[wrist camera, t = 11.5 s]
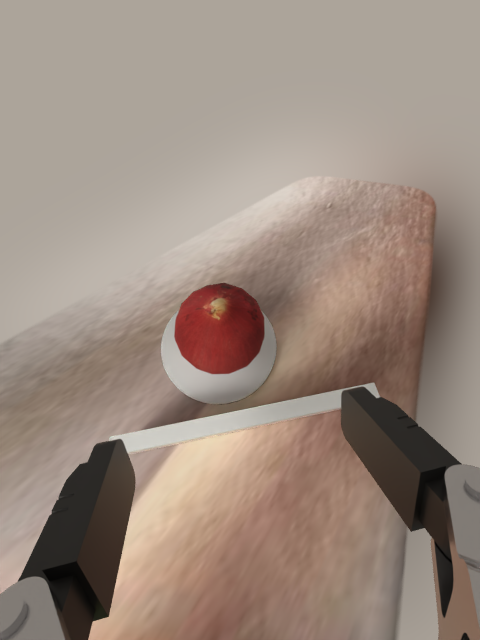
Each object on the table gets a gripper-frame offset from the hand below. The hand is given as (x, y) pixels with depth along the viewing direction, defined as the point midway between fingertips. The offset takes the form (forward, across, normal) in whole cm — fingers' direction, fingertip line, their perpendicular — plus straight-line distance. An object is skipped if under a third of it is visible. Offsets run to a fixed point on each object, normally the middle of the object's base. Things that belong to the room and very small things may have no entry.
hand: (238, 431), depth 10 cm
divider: (+8, -1, +7) cm, 10 cm away
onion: (+12, 0, +2) cm, 12 cm away
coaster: (+12, 0, +2) cm, 12 cm away
